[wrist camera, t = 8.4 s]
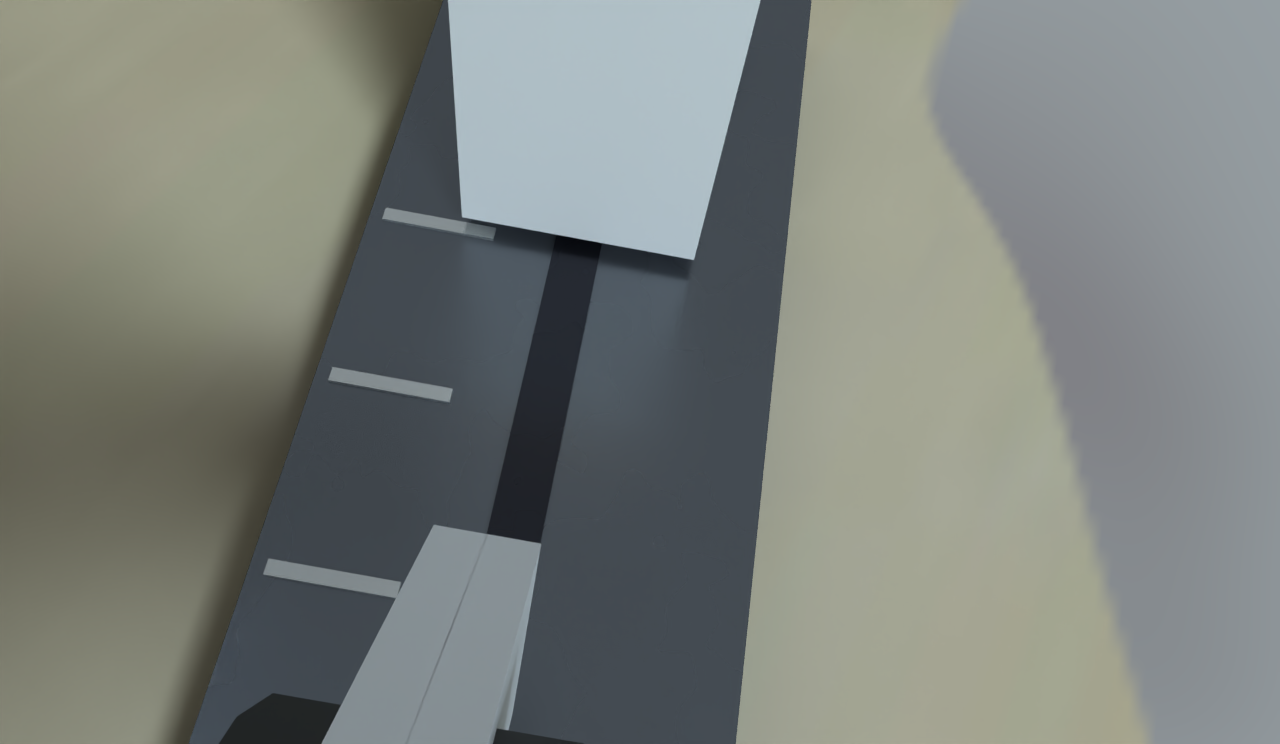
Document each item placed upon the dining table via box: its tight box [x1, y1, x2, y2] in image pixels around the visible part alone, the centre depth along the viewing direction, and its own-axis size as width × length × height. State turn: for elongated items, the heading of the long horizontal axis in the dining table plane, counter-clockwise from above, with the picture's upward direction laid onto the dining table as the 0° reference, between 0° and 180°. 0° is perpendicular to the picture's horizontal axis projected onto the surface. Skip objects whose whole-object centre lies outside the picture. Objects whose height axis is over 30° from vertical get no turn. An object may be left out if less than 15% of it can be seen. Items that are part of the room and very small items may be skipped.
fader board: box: [189, 0, 811, 744], centre depth 22 cm, size 26×9×2 cm, turn 171°
